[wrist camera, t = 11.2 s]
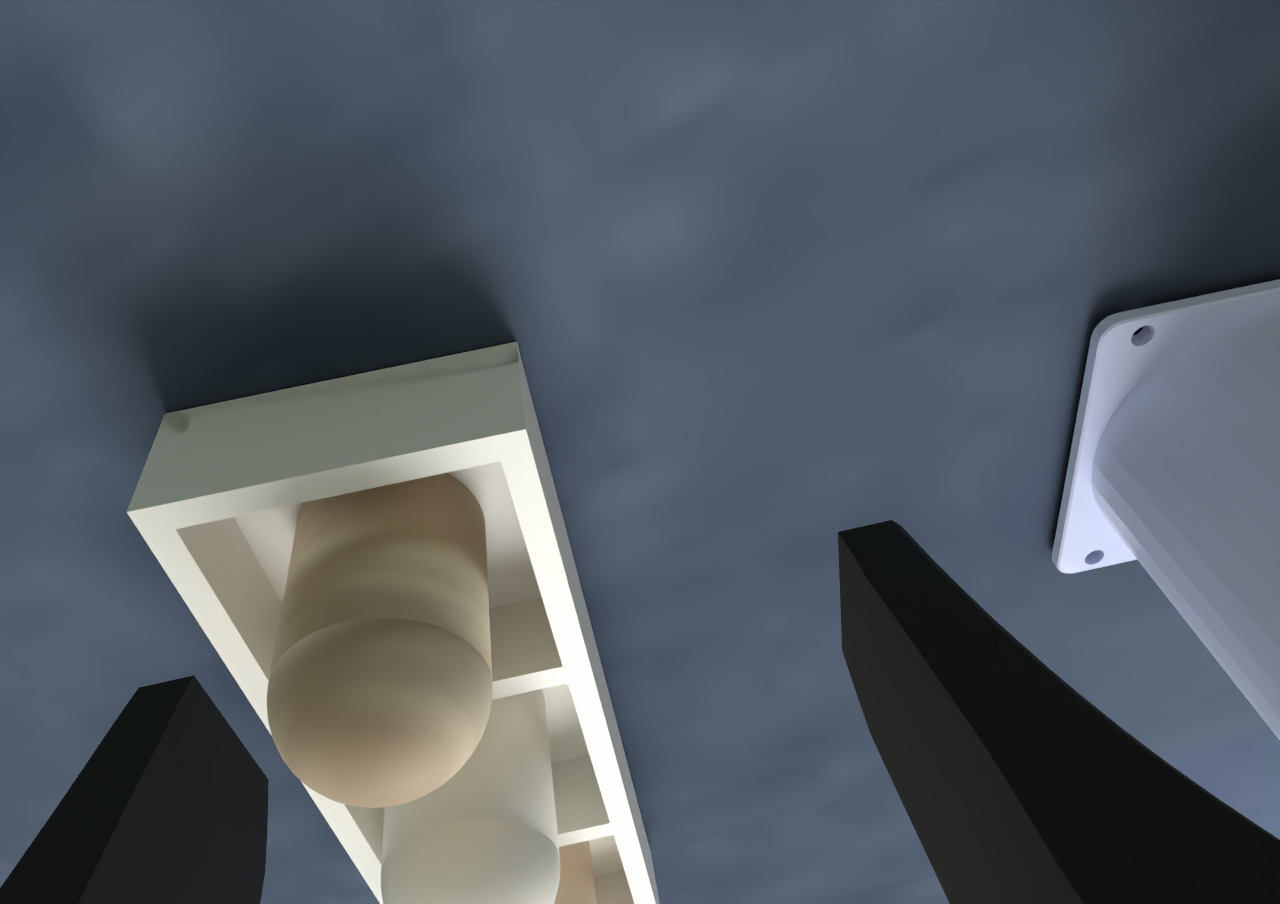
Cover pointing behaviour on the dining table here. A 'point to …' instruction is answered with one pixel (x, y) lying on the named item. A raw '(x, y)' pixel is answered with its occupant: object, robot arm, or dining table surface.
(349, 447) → the egg carton
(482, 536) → the wooden egg
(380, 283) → the dining table surface
